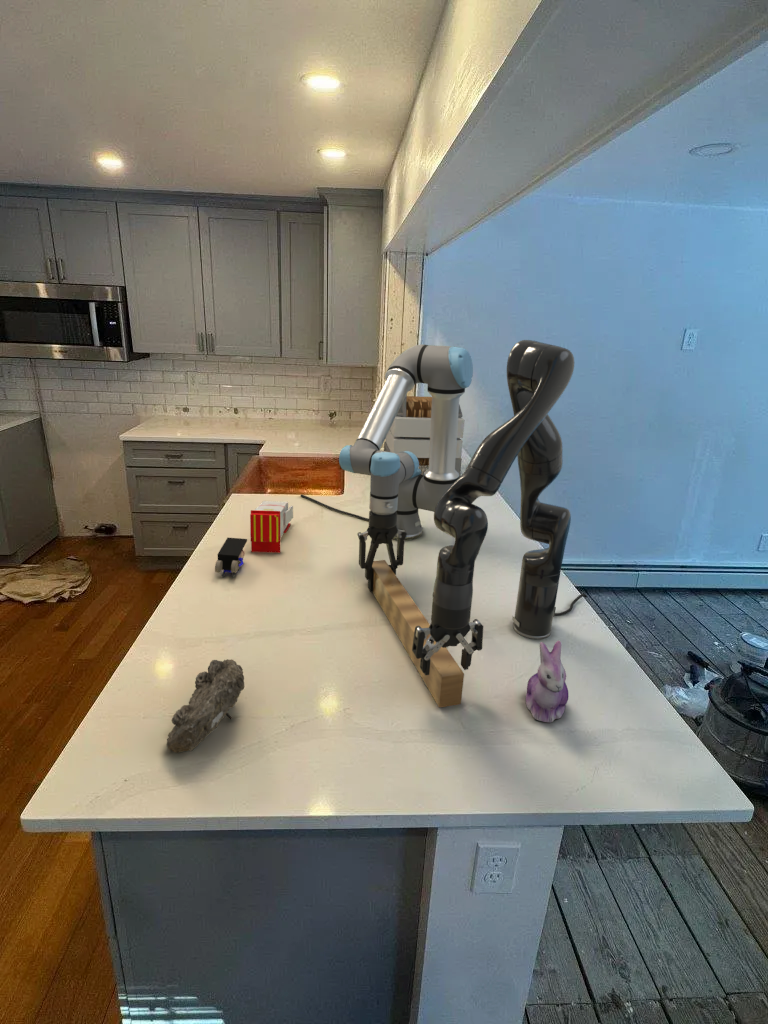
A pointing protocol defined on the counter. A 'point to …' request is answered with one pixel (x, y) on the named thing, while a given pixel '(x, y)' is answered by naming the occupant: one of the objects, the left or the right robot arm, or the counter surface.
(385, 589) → the beam
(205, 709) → the fossil
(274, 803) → the counter surface
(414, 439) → the transformer
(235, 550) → the figurine character
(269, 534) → the toy
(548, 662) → the figurine
